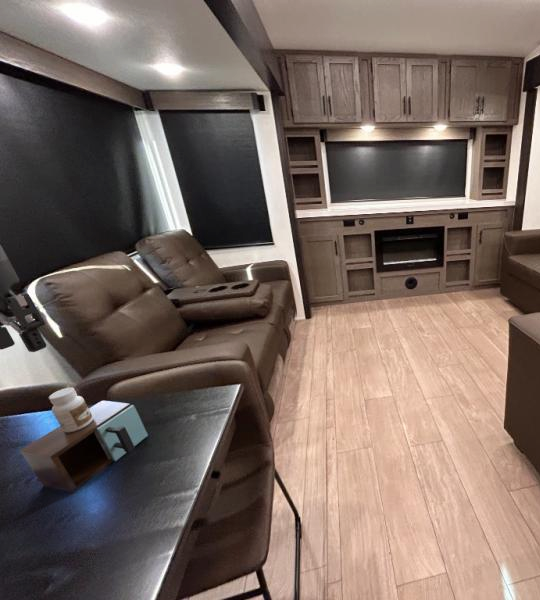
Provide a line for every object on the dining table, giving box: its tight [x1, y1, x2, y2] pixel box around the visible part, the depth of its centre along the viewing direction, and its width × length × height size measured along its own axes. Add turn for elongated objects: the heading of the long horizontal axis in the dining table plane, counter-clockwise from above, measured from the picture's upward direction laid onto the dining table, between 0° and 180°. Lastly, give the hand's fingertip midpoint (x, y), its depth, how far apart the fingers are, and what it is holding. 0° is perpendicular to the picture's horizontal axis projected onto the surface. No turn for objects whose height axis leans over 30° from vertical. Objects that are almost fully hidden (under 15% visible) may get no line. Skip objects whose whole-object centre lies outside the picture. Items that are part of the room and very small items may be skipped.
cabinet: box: [19, 400, 132, 494], centre depth 64 cm, size 8×14×9 cm, turn 166°
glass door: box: [97, 404, 149, 462], centre depth 66 cm, size 5×7×8 cm
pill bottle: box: [48, 387, 93, 432], centre depth 61 cm, size 4×4×8 cm
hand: (22, 348), depth 58 cm, fingers open, 8 cm apart
